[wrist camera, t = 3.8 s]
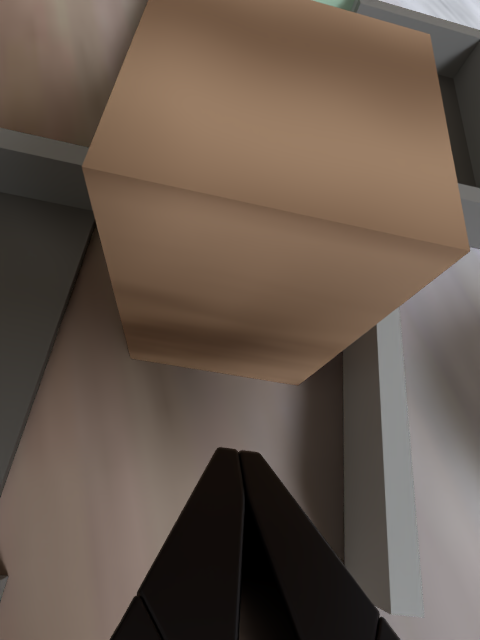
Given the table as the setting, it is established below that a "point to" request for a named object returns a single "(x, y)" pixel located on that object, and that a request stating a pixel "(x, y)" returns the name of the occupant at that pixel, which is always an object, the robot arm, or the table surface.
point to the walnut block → (270, 183)
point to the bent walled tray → (358, 358)
